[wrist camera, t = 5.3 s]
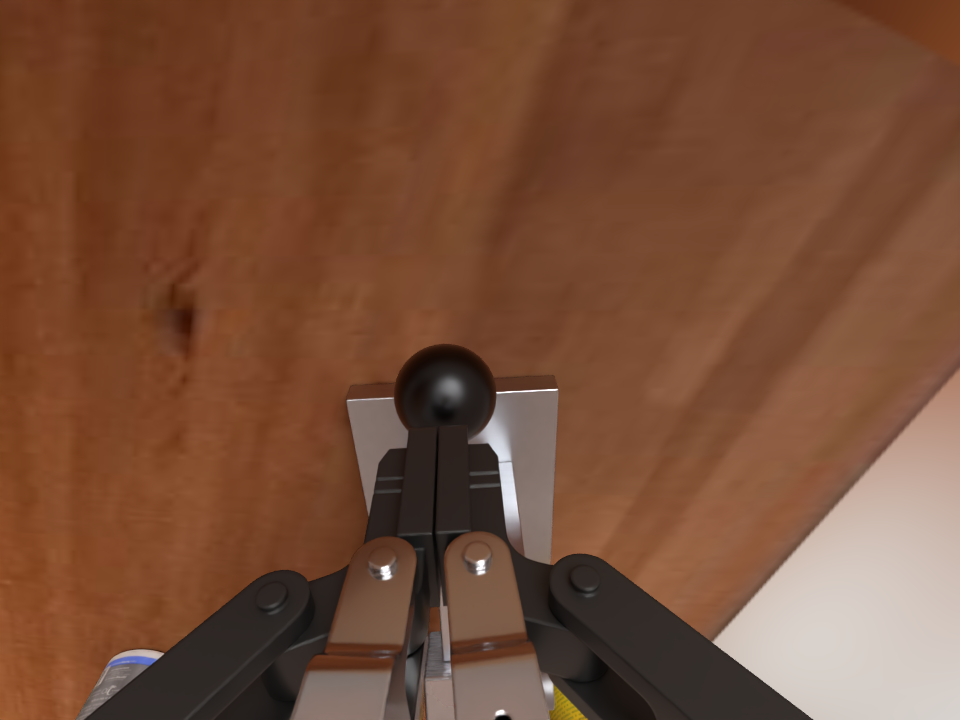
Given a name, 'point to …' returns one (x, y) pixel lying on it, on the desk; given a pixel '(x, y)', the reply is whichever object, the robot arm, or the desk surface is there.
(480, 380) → the lever handle
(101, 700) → the pill bottle
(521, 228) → the desk surface
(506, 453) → the lever stand
